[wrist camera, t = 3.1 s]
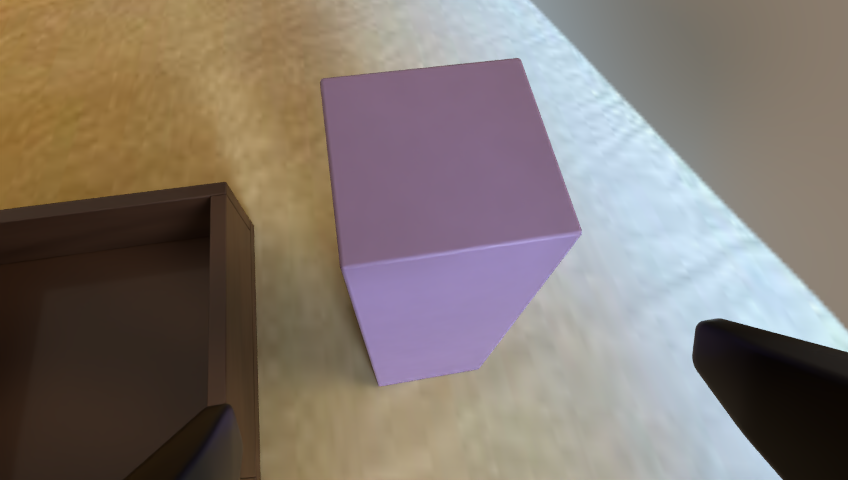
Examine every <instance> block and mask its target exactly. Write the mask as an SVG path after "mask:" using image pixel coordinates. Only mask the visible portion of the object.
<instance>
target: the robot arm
mask: <svg viewBox="0 0 848 480" xmlns="http://www.w3.org/2000/svg"><path fill="white" fill-rule="evenodd" d="M692 359H693V364H694V366H695V368H696V370H697V372H698V373H699V374H700V376H701V377H702V378H703V380H704V381H705V383H706V384H707V385H708V387H709V388H710V389H711V391H712V392H713V394H714V395H715V396H716V398H717V399H718V400H719V402H720V403H721V405H722V406H723V407H724V409H725V410H726V411H727V413H728V414H729V415H730V417H731V418H732V420H733V421H734V422H735V424H736V425H737V426H738V428H739V429H740V430H741V432H742V433H743V434H744V435H745V437H746V438H747V439H748V440H749V441H750V443H751V444H752V445H753V446H754V447H755V448H756V450H757V451H758V452H759V453H760V454H761V455H762V456H763V458H764V459H765V460H766V461H767V462H768V463H769V464H770V466H771V467H772V468H773V469H774V470H775V471H776V472H777V474H778V475H779V476H780V477H781V478H782V479H783V480H848V352H845V351H841V350H837V349H833V348H830V347H826V346H822V345H818V344H815V343H811V342H807V341H803V340H800V339H796V338H792V337H788V336H785V335H781V334H777V333H773V332H770V331H766V330H762V329H758V328H755V327H751V326H747V325H743V324H740V323H736V322H732V321H728V320H725V319H711V320H705V321H701V322H699V323H698V324H697V326H696V329H695V337H694V346H693V354H692ZM242 456H243V442H242V437H241V434H240V430H239V427H238V423H237V420H236V416H235V413H234V410H233V408H232V406H231V405H230V404H228V403H225V404H219V405H213V406H208V407H205V408H204V409H203V410H201V411H200V412H199V413H198V414H197V415H196V416H195V417H194V418H192V419H191V420H190V421H189V422H188V423H187V424H186V425H184V426H183V427H182V428H181V429H180V430H179V431H178V432H176V433H175V434H174V435H173V436H172V437H171V438H170V439H169V440H167V441H166V442H165V443H164V444H163V445H162V446H161V447H159V448H158V449H157V450H156V451H155V452H154V453H153V454H151V455H150V456H149V457H148V458H147V459H146V460H145V461H144V462H142V463H141V464H140V465H139V466H138V467H137V468H136V469H134V470H133V471H132V472H131V473H130V474H129V475H128V476H127V477H125V478H124V479H123V480H240V472H241V464H242Z"/></svg>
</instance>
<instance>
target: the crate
mask: <svg viewBox="0 0 848 480" xmlns="http://www.w3.org/2000/svg"><path fill="white" fill-rule="evenodd" d="M225 403H228V404H230V405H231V406H232V408H233V410H234V413H235V416H236V420H237V423H238V427H239V430H240V434H241V437H242V442H243V456H242V464H241V472H240V480H261V477H260V440H259V402H258V365H257V328H256V290H255V253H254V225H253V224H252V222H251V221H250V220H249V218H248V216H247V215H246V213H245V212H244V210H243V208H242V207H241V205H240V204H239V202H238V200H237V199H236V197H235V196H234V194H233V192H232V191H231V189H230V188H229V186H228V184H227V183H226V182H220V183H212V184H204V185H196V186H188V187H180V188H172V189H164V190H156V191H148V192H140V193H132V194H124V195H116V196H108V197H100V198H92V199H84V200H76V201H68V202H60V203H52V204H44V205H36V206H28V207H20V208H12V209H4V210H0V480H123V479H124V478H125V477H127V476H128V475H129V474H130V473H131V472H132V471H133V470H134V469H136V468H137V467H138V466H139V465H140V464H141V463H142V462H144V461H145V460H146V459H147V458H148V457H149V456H150V455H151V454H153V453H154V452H155V451H156V450H157V449H158V448H159V447H161V446H162V445H163V444H164V443H165V442H166V441H167V440H169V439H170V438H171V437H172V436H173V435H174V434H175V433H176V432H178V431H179V430H180V429H181V428H182V427H183V426H184V425H186V424H187V423H188V422H189V421H190V420H191V419H192V418H194V417H195V416H196V415H197V414H198V413H199V412H200V411H201V410H203V409H204V408H205V407H208V406H213V405H219V404H225Z"/></svg>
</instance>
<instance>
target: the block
mask: <svg viewBox="0 0 848 480" xmlns="http://www.w3.org/2000/svg"><path fill="white" fill-rule="evenodd" d="M320 88H321V97H322V106H323V115H324V124H325V133H326V142H327V151H328V160H329V170H330V179H331V188H332V197H333V206H334V215H335V224H336V233H337V242H338V252H339V261H340V268H341V271H342V274H343V277H344V280H345V283H346V287H347V290H348V293H349V296H350V299H351V302H352V305H353V308H354V311H355V314H356V317H357V321H358V324H359V327H360V330H361V333H362V336H363V339H364V342H365V345H366V348H367V352H368V355H369V358H370V361H371V364H372V367H373V370H374V373H375V376H376V379H377V383H378V385H379V386H385V385H391V384H396V383H402V382H408V381H413V380H419V379H425V378H430V377H436V376H442V375H447V374H453V373H459V372H464V371H470V370H476V369H479V368H480V367H481V365H482V364H483V363H484V361H485V360H486V359H487V358H488V356H489V355H490V354H491V352H492V351H493V350H494V348H495V347H496V346H497V344H498V343H499V342H500V340H501V339H502V338H503V337H504V335H505V334H506V333H507V331H508V330H509V329H510V327H511V326H512V325H513V323H514V322H515V321H516V320H517V318H518V317H519V316H520V314H521V313H522V312H523V310H524V309H525V308H526V306H527V305H528V304H529V302H530V301H531V300H532V299H533V297H534V296H535V295H536V293H537V292H538V291H539V289H540V288H541V287H542V285H543V284H544V283H545V282H546V280H547V279H548V278H549V276H550V275H551V274H552V272H553V271H554V270H555V268H556V267H557V266H558V264H559V263H560V262H561V261H562V259H563V258H564V257H565V255H566V254H567V253H568V251H569V250H570V249H571V247H572V246H573V245H574V244H575V242H576V241H577V240H578V238H579V237H580V236H581V233H582V230H581V227H580V224H579V222H578V219H577V216H576V213H575V210H574V208H573V205H572V202H571V199H570V196H569V194H568V191H567V188H566V185H565V182H564V180H563V177H562V174H561V171H560V168H559V166H558V163H557V160H556V157H555V154H554V152H553V149H552V146H551V143H550V140H549V138H548V135H547V132H546V129H545V126H544V124H543V121H542V118H541V115H540V112H539V110H538V107H537V104H536V101H535V98H534V96H533V93H532V90H531V87H530V84H529V82H528V79H527V76H526V73H525V70H524V68H523V65H522V62H521V60H520V59H519V58H514V59H504V60H495V61H485V62H476V63H466V64H456V65H447V66H437V67H428V68H418V69H408V70H399V71H389V72H380V73H370V74H360V75H351V76H341V77H331V78H323V79H321V82H320Z"/></svg>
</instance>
